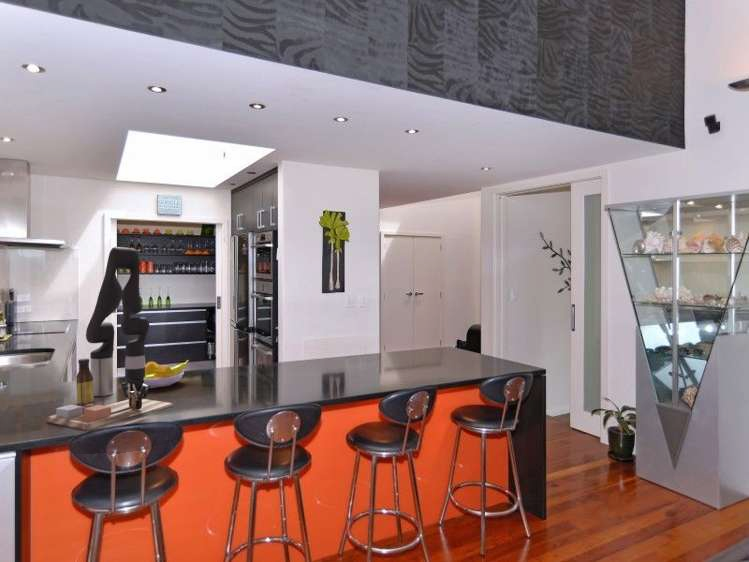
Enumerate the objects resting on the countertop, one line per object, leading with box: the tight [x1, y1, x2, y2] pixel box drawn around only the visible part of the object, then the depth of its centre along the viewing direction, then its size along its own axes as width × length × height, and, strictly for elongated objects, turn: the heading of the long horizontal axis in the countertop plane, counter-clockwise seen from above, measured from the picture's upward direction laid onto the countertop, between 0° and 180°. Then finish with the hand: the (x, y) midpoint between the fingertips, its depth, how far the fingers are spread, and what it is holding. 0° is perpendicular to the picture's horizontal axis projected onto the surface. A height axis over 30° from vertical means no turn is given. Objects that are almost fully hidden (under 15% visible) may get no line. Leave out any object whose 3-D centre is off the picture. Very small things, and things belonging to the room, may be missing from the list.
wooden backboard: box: [46, 398, 174, 431], centre depth 209 cm, size 22×40×3 cm, turn 156°
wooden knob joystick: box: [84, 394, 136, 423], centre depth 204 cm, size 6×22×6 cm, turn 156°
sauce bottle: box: [75, 358, 95, 406], centre depth 221 cm, size 6×6×20 cm
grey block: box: [55, 403, 95, 419], centre depth 200 cm, size 6×13×5 cm, turn 156°
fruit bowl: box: [144, 359, 190, 389], centre depth 261 cm, size 28×27×11 cm
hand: (135, 408), depth 212 cm, fingers closed on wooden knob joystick, 3 cm apart
